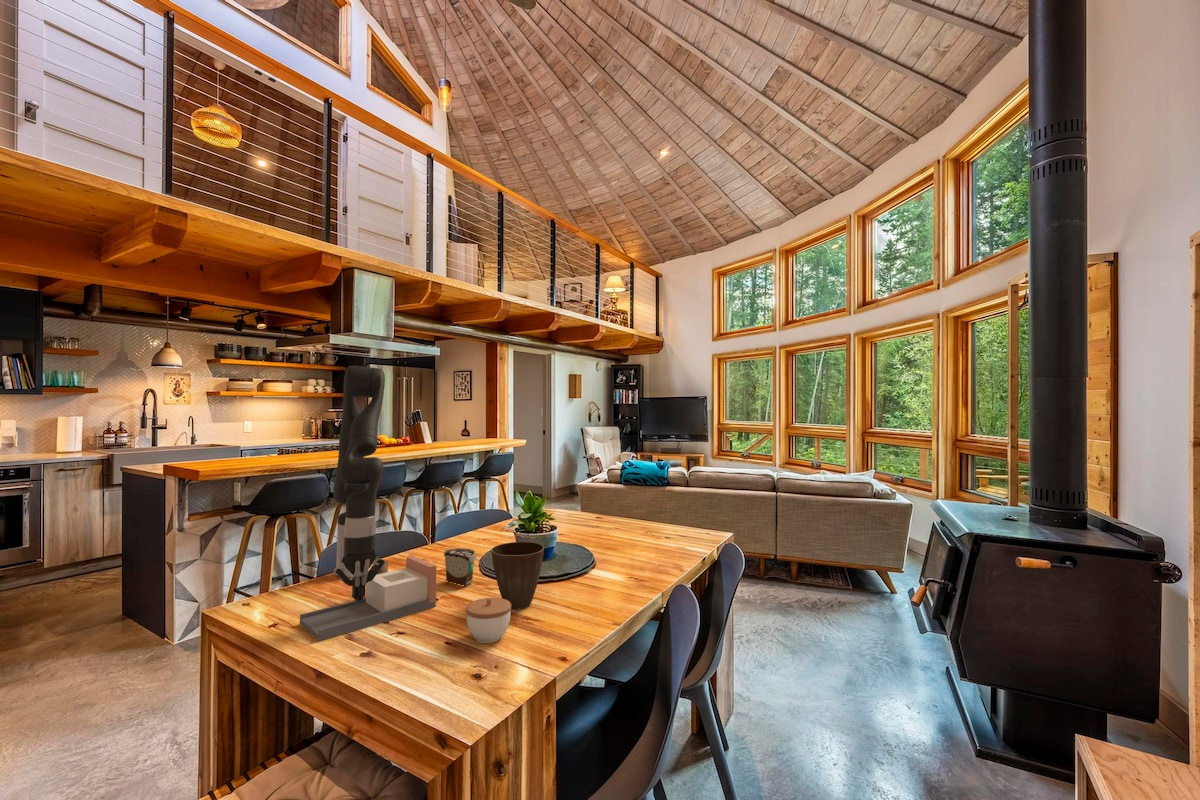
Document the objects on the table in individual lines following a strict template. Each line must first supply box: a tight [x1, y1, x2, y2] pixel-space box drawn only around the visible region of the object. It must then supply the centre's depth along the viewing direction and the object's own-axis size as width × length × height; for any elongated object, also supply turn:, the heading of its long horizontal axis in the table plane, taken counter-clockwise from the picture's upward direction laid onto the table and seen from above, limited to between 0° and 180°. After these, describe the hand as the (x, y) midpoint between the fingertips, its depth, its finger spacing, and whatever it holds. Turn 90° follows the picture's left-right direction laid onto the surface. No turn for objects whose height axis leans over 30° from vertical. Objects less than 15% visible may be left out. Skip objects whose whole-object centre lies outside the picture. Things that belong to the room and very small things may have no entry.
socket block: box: [365, 567, 428, 612], centre depth 138 cm, size 12×12×7 cm
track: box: [299, 555, 437, 642], centre depth 133 cm, size 14×30×12 cm, turn 137°
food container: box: [443, 547, 477, 586], centre depth 160 cm, size 12×6×10 cm, turn 58°
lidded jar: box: [465, 597, 512, 644], centre depth 120 cm, size 11×11×9 cm
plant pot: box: [491, 541, 545, 610], centre depth 142 cm, size 15×15×16 cm
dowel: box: [376, 559, 389, 575], centre depth 148 cm, size 4×4×10 cm
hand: (358, 599), depth 130 cm, fingers closed
